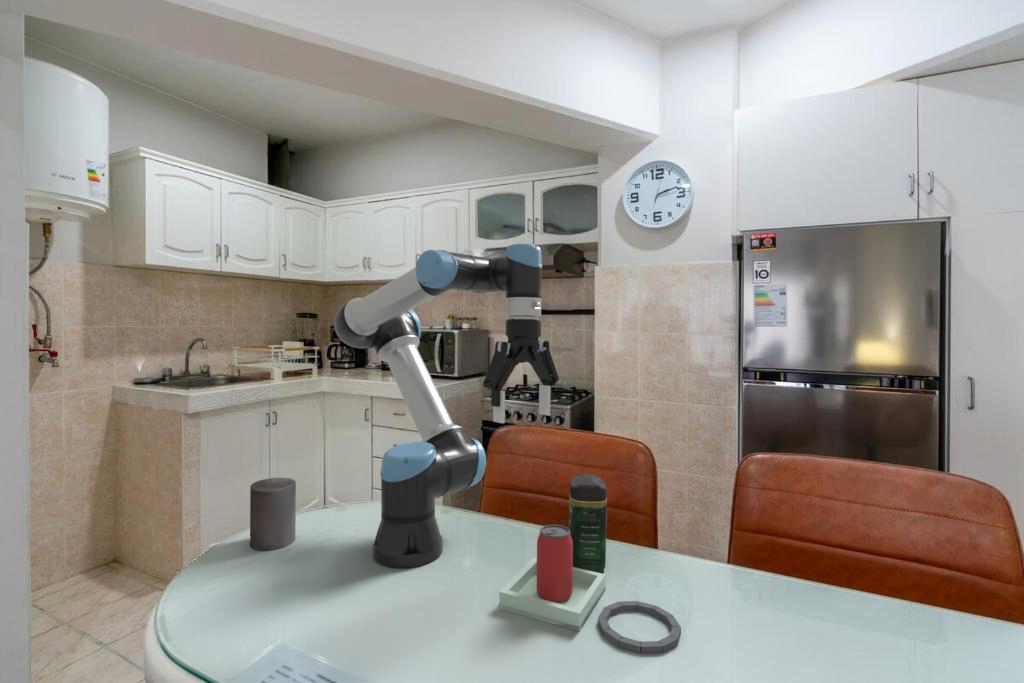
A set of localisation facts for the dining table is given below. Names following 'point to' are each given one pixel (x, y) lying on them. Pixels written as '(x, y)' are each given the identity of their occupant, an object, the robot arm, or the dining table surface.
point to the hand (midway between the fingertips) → (522, 418)
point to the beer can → (554, 563)
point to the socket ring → (634, 644)
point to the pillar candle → (272, 513)
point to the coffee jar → (588, 521)
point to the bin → (566, 613)
